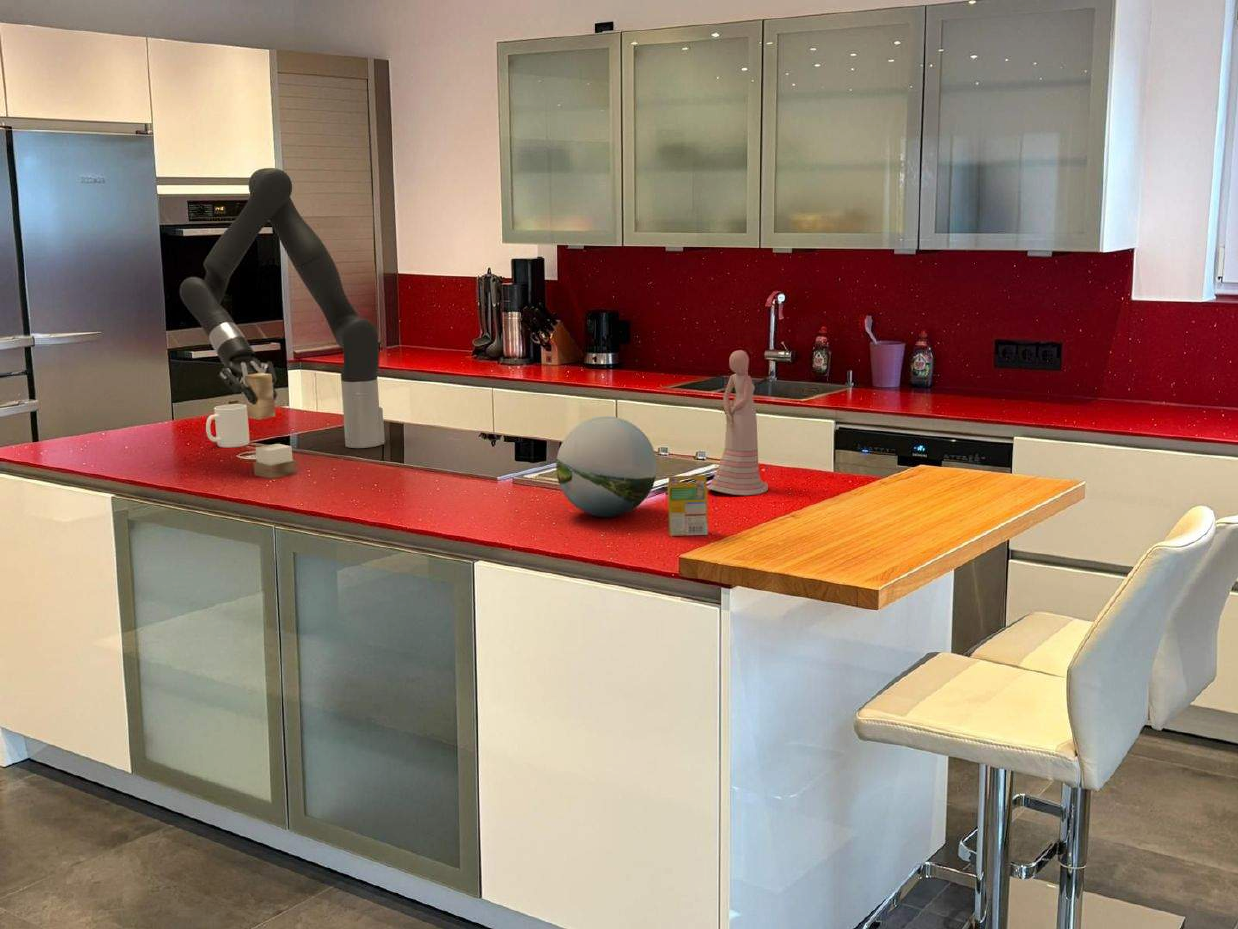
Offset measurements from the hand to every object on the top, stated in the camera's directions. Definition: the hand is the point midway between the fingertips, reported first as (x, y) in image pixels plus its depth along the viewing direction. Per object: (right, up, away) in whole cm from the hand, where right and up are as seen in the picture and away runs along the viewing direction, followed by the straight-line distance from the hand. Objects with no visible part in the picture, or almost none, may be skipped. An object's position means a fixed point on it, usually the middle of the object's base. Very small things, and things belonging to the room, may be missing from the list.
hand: (265, 400), depth 315 cm
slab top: (+2, -14, +3) cm, 15 cm away
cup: (-20, -10, +41) cm, 46 cm away
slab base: (+2, -18, +3) cm, 18 cm away
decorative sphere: (+80, -25, -44) cm, 95 cm away
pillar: (-1, -4, +2) cm, 5 cm away
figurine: (+108, -21, -25) cm, 113 cm away
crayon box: (+96, -28, -60) cm, 116 cm away
